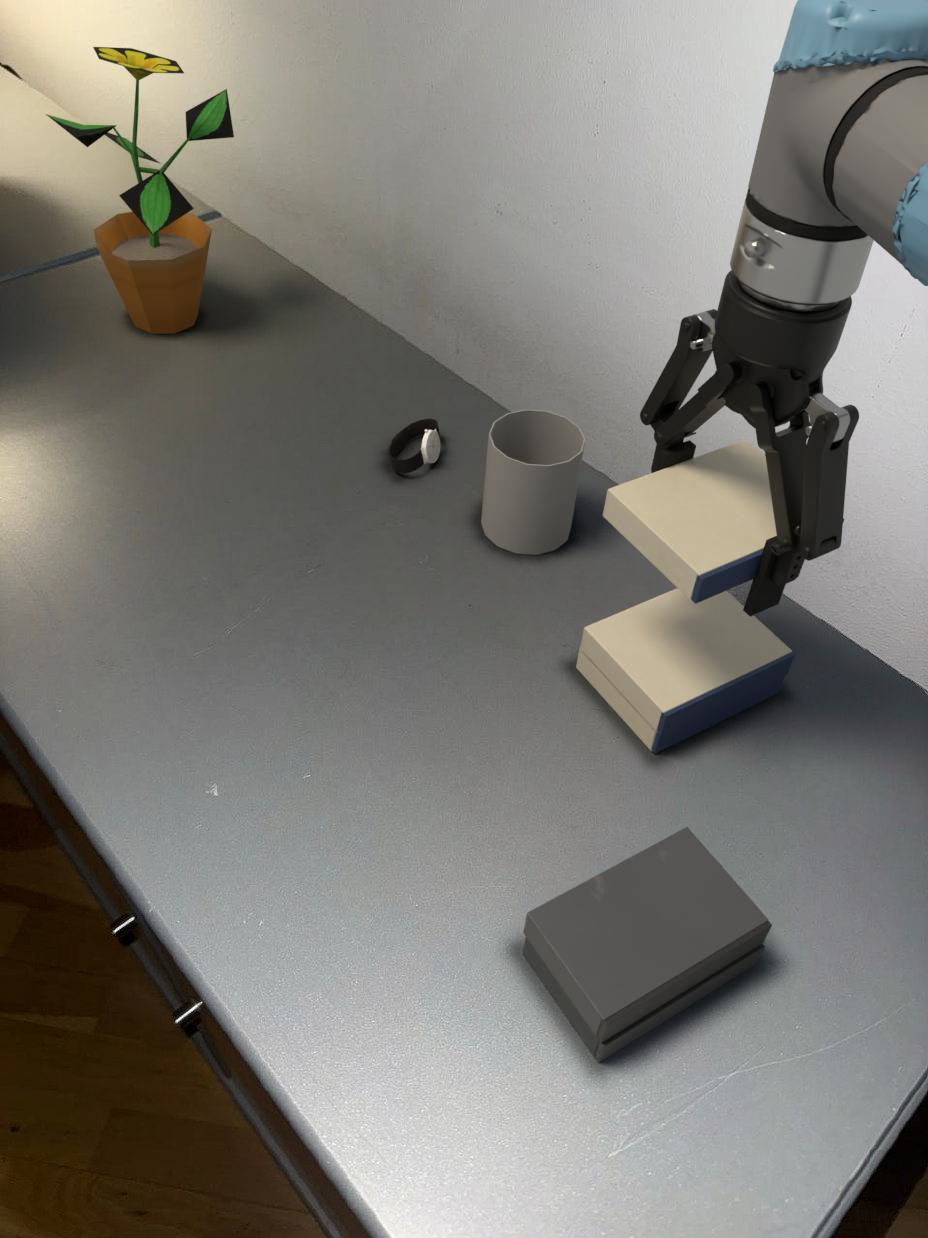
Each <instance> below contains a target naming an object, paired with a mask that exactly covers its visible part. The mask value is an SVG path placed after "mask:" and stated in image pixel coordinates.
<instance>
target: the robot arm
mask: <svg viewBox="0 0 928 1238" xmlns="http://www.w3.org/2000/svg"><path fill="white" fill-rule="evenodd" d="M772 73H773V77H772V81H771V85H770V89H769V93H768V98H767V103H766V107H765V111H764V115H763V120H762V125H761V129H760V133H759V137H758V141H757V146H756V150H755V154H754V159H753V163H752V168H751V172H750V177H749V181H748V184H747V185H748V186H747V192H746V196H745V199H744V203H743V206H742V209H741V216H740V219H739V223H738V227H737V232H736V236H735V240H734V244H733V248H732V252H731V256H730V261H729V266H730V270H729V272H727V274H726V276H725V278H724V282H723V286H722V288H721V289H722V290H721V294H720V298H719V302H718V306H717V309H715V308H712V309H708V310H705V311H702V312H698V313H694V314H692V315H688V316H685V317H683V318H682V319H681V320H680V325H679V329H678V336H677V340H676V345H675V347H674V349H673V351H672V353H671V354H670V357H669V359H668V361H667V362H666V364H665V365H664V368H663V369H662V372H661V373H660V375H659V377H658V378H657V380H656V382H655V384H654V386H653V388H652V390H651V391H650V394H649V395H648V397H647V399H646V401H645V403H644V404H643V406H642V409H641V410H640V413H639V419H640V422H641V423H642V424H643V425H644V426H650V427H651V428H652V430H653V431H654V432H653V440H654V442H655V449H654V453H653V458H652V463H651V467H650V471H651V473H654V472H656V471H659V470H662V469H665V468H668V467H670V466H673V465H676V464H679V463H681V462H684V461H687V460H690V459H692V458H695V452H696V448H697V445H696V444H695V443H694V442H693V441H691V440H690V439H689V440H686V441H685V438H688V437H692V436H694V435H697V434H698V433H697V432H696V431H697V430H698V429H699V428H700V427H701V426H703V425H704V424H705V423H706V422H708V421H709V420H710V419H711V418H712V417H713V416H715V415H716V414H717V413H718V412H719V411H720V410H722V409H723V408H724V407H726V408H727V409H729V410H730V411H731V412H734V413H736V414H739V415H741V416H742V417H743V418H744V420H745V421H746V422H747V423H748V425H749V426H751V427H752V428H753V429H754V430H755V435H756V442H757V447H758V448H759V450H763V452H764V454H765V456H766V463H767V470H768V477H769V484H770V491H771V498H772V505H773V512H774V519H775V526H776V533H777V536H775V537H772V538H770V539H768V540H766V543H765V546H764V549H763V552H762V555H761V558H760V561H759V564H758V567H757V570H756V573H755V576H754V579H752V582H751V585H750V588H749V591H748V593H747V597H746V600H745V603H744V605H743V606H744V608H743V611H744V612H745V613H747V614H748V615H749V616H750V617H751V616H753V615H754V616H755V615H757V614H759V613H762V612H765V611H766V610H768V609H770V608H773V607H775V606H777V605H779V604H780V601H781V599H782V596H783V593H784V590H785V587H786V585H787V584H789V583H791V582H793V581H795V580H797V578H799V576H800V574H801V570H802V569H803V566H804V563H805V560H806V561H808V562H809V561H812V560H815V559H817V558H820V557H822V556H825V555H827V554H829V553H831V552H833V551H836V550H837V549H840V548H841V545H842V539H843V525H844V522H843V518H844V512H845V499H846V488H847V474H848V473H847V472H848V460H849V449H850V441H851V439H852V437H853V434H854V431H855V430H856V427H857V424H858V422H859V419H860V412H859V410H858V408H857V407H856V406H855V405H854V404H847V405H843V406H841V407H840V406H839V405H837V404H836V403H834V402H833V400H831V399H830V398H828V397H827V396H826V395H824V384H823V383H824V382H823V381H824V379H823V377H824V371H825V369H826V367H827V365H828V364H829V362H830V361H831V359H832V358H833V356H834V355H835V353H836V351H837V349H838V347H839V344H840V340H841V339H842V335H843V332H844V329H845V326H846V324H847V320H848V317H849V315H850V312H851V308H852V304H853V298H852V296H853V295H854V294H855V293H856V292H857V290H858V289H859V287H860V284H861V282H862V277H863V275H864V271H865V269H866V267H867V262H868V259H869V257H870V253H871V250H872V246H873V244H874V242H875V243H877V244H878V246H880V247H881V248H883V250H884V251H886V252H887V253H888V254H889V255H890V256H891V257H892V258H893V259H895V260H896V261H897V262H898V263H899V264H900V265H901V266H902V267H903V268H904V270H906V271H907V272H908V273H909V274H910V276H911V277H912V279H915V280H917V281H918V282H919V283H921V285H923V286H924V287H928V0H796V2H795V5H794V8H793V9H792V13H791V18H790V21H789V25H788V28H787V31H786V34H785V37H784V42H783V45H782V47H781V51H780V55H779V57H778V59H777V61H776V62H775V63H774V65H773V67H772ZM712 354H713V360H714V365H715V369H716V370H715V371H714V374H713V375H711V376H710V377H709V378H708V379H707V380H706V381H705V382H704V383H702V384H701V386H699V387H698V388H697V392H696V393H695V394H694V395H693V396H692V397H691V398H690V399H689V400H688V401H687V402H686V403H684V402H685V400H686V398H687V397H688V394H689V393H690V391H691V390H692V387H693V386H694V384H695V383H696V382H697V379H698V377H699V376H700V374H701V373H702V371H703V369H704V368H705V366H706V364H707V362H708V360H709V359H710V357H711V355H712ZM683 403H684V404H683ZM788 423H789V425H788V427H787V428H783V429H782V430H779V431H776V428H777V427H780V426H783V425H786V424H788ZM651 473H650V474H651ZM798 526H799V527H798ZM797 527H798V528H797Z"/></svg>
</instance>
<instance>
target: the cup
mask: <svg viewBox="0 0 928 1238" xmlns="http://www.w3.org/2000/svg"><path fill="white" fill-rule="evenodd" d="M585 445H586V438H585V435H584V434H583V431H582V430H581V427H580V426H578V425H577V424H576V423H574V422H573V421H572V420H570V419H569V418H568V417H567V416H564V415H561V414H558V413H554V412H552V411H549V410H542V409H541V410H540V409H521V410H516V411H512V412H507V413H506V414H504V415H502V416H500V417H499V418H498V419H496V420H494V421H493V423H492V426H491V428H490V430H489V433H488V441H487V450H486V462H485V473H484V485H483V496H482V506H481V518H480V523H481V524H480V525H481V527H482V529H483V533H484V535H485V537H486V538H487V539H489V540H490V541H491V542H492V543H493V544H494V545H495V546H497V547H498V548H500V549H503V550H505V551H508V552H512V553H513V554H516V555H531V556H533V555H535V556H538V555H542V554H546V553H549V552H553V551H556V550H557V549H559V548H560V547H561V546H562V545H564V544H565V543H566V542H567V541H568V539H569V535H570V533H571V528H572V524H573V519H574V518H573V517H574V510H575V505H576V498H577V493H578V487H579V481H580V474H581V469H582V464H583V456H584V451H585Z"/></svg>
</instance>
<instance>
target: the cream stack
mask: <svg viewBox="0 0 928 1238" xmlns="http://www.w3.org/2000/svg"><path fill="white" fill-rule="evenodd" d="M743 608H744V605H743V604H742V603H741V602H740V601H738V600H737V599H736V598H735V597H734V596H733V595H732V594H731V593H730V592H729V591H728V590H727V591H724V592H722V593H720V594H717V595H715V596H713V597H710V598H708V599H706V600H703V601H701V602H699V603H697V604H695V603H694V602H693V601H691V600H690V599H689V598H687V597H686V596H685V595H684V594H683V593H682V592H681V591H680V590H679V589H678V588H677V587H676V588H675V589H671V590H670V591H667V592H665V593H663V594H660V595H657V596H655V597H652V598H650V599H648V600H646V601H643V602H641V603H638V604H636V605H634V606H631V607H629V608H627V609H625V610H622V611H620V612H617V613H615V614H613V615H610V616H607V617H605V618H603V619H600V620H598V621H595V622H593V623H591V624H589V625H587V626H584V627H583V631H582V636H581V642H580V646H579V650H578V655H577V660H576V664H575V665H576V666H575V667H576V669H577V671H578V672H579V673H580V674H581V675H582V676H583V677H584V678H585V679H586V680H587V682H588V683H589V684H590V685H591V686H592V688H594V689H595V691H596V692H597V693H598V694H599V695H600V696H601V697H602V698H603V699H604V700H605V702H606V703H607V704H608V705H609V707H611V709H612V710H613V711H615V713H616V714H617V715H618V716H619V717H620V718H621V719H622V721H623V722H624V723H625V724H626V725H627V726H628V727H629V728H630V729H631V730H632V732H633V733H634V734H635V735H636V736H637V737H638V738H639V740H640V741H641V742H642V743H643V744H644V745H645V746H646V747H647V748H648V750H650V752H652V753H653V754H658V753H660V752H661V751H664V750H666V749H668V748H670V747H672V746H674V745H675V744H678V743H680V742H682V741H683V740H686V739H688V738H690V737H692V736H694V735H696V734H698V733H700V732H702V731H704V730H706V729H708V728H710V727H712V726H715V725H716V724H718V723H720V722H723V721H725V720H726V719H728V718H730V717H733V716H734V715H736V714H739V713H741V712H742V711H745V710H746V709H748V708H751V707H752V706H755V705H756V704H759V703H761V702H763V701H765V700H767V699H768V698H771V697H773V696H775V695H777V694H779V693H780V691H781V688H782V686H783V683H784V681H785V679H786V676H787V675H788V674H789V672H790V669H791V667H792V664H793V661H794V659H795V656H796V654H795V653H794V652H793V651H792V649H791V648H789V647H788V645H786V643H784V642H783V641H782V639H780V638H779V637H778V636H777V635H776V634H775V633H773V632H772V631H771V630H770V629H769V628H768V627H767V626H766V625H765V624H764V623H762V622H761V621H760V620H759V619H758V618H757V617H756V616H755V615H753V616H751V617H750V616H749V615H748V614H747V613H745V612H744V611H743Z"/></svg>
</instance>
